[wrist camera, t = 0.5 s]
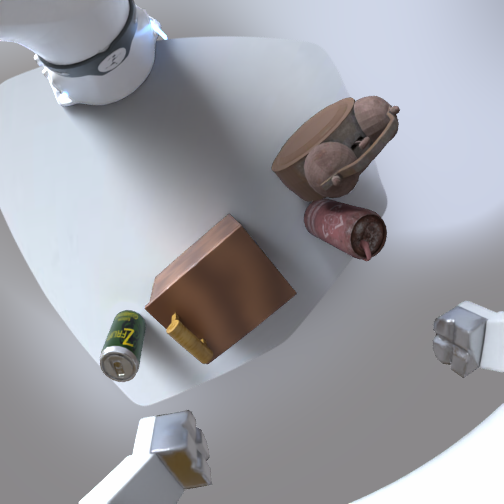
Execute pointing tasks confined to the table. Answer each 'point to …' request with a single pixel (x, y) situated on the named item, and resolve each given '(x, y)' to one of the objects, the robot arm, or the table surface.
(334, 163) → the alarm clock
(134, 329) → the beer can
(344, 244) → the can
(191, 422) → the robot arm
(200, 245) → the chest
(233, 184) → the table surface
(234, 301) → the lid
